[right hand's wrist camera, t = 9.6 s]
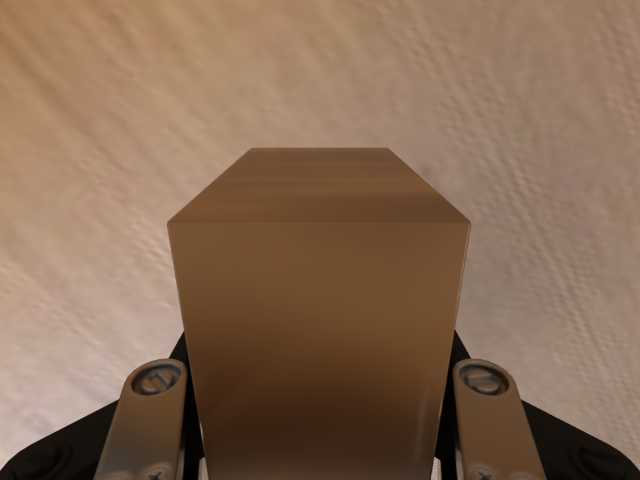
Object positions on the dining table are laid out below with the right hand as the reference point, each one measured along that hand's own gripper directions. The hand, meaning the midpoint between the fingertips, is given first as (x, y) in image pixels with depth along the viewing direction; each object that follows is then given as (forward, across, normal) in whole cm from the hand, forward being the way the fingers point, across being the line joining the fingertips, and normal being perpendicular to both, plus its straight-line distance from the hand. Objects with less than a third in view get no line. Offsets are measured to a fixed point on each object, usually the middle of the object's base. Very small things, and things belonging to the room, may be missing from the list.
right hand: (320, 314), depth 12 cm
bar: (+2, 0, -28) cm, 28 cm away
